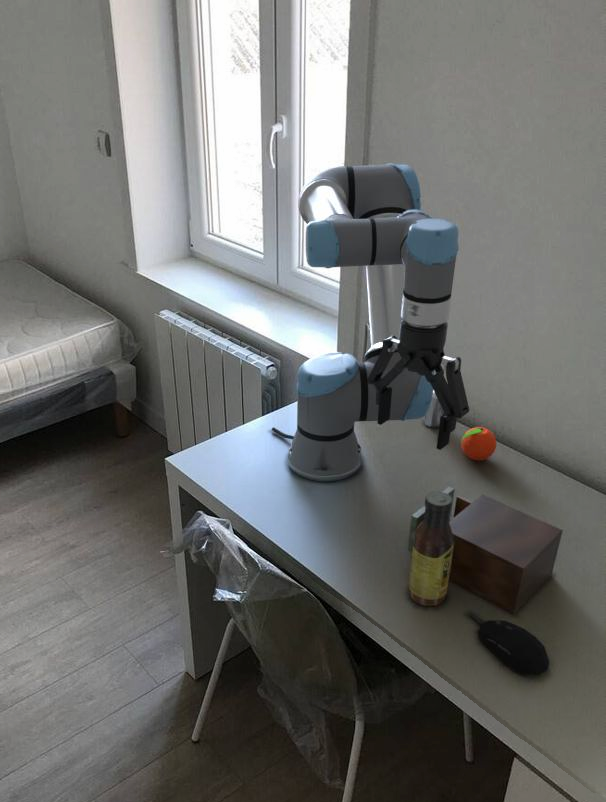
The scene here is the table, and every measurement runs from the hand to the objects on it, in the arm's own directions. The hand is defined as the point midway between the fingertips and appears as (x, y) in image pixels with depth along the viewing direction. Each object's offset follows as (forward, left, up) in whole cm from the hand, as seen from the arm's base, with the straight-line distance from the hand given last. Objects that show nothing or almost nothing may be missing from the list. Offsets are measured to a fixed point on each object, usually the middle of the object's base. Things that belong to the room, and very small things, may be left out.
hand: (412, 433), depth 138 cm
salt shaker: (-18, +29, -18) cm, 39 cm away
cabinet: (+21, -1, -18) cm, 28 cm away
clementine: (-3, +25, -18) cm, 31 cm away
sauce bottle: (+17, -14, -18) cm, 28 cm away
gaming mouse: (+32, -13, -18) cm, 39 cm away
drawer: (+14, -2, -17) cm, 22 cm away
